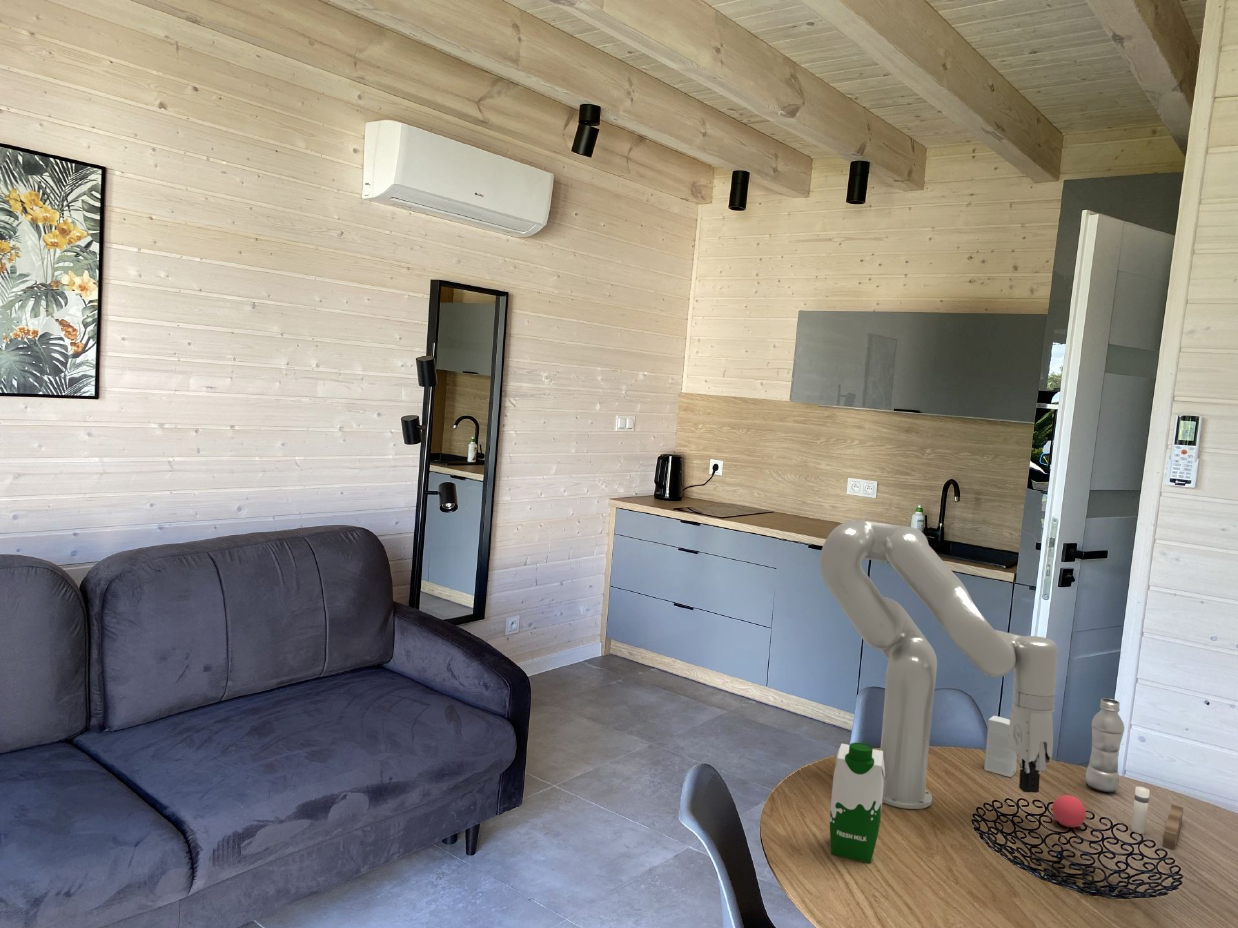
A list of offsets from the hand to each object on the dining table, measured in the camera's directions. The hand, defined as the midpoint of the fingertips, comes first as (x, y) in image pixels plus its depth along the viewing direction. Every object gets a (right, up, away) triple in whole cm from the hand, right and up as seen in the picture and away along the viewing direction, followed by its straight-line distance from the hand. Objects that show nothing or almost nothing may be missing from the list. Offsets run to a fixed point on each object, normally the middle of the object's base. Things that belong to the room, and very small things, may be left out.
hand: (1028, 790), depth 177 cm
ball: (+8, -4, 0) cm, 9 cm away
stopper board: (+29, -9, 0) cm, 30 cm away
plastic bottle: (+25, -7, +20) cm, 33 cm away
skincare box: (+6, -6, +27) cm, 28 cm away
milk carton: (-39, -5, -15) cm, 43 cm away
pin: (+22, -8, 0) cm, 23 cm away
